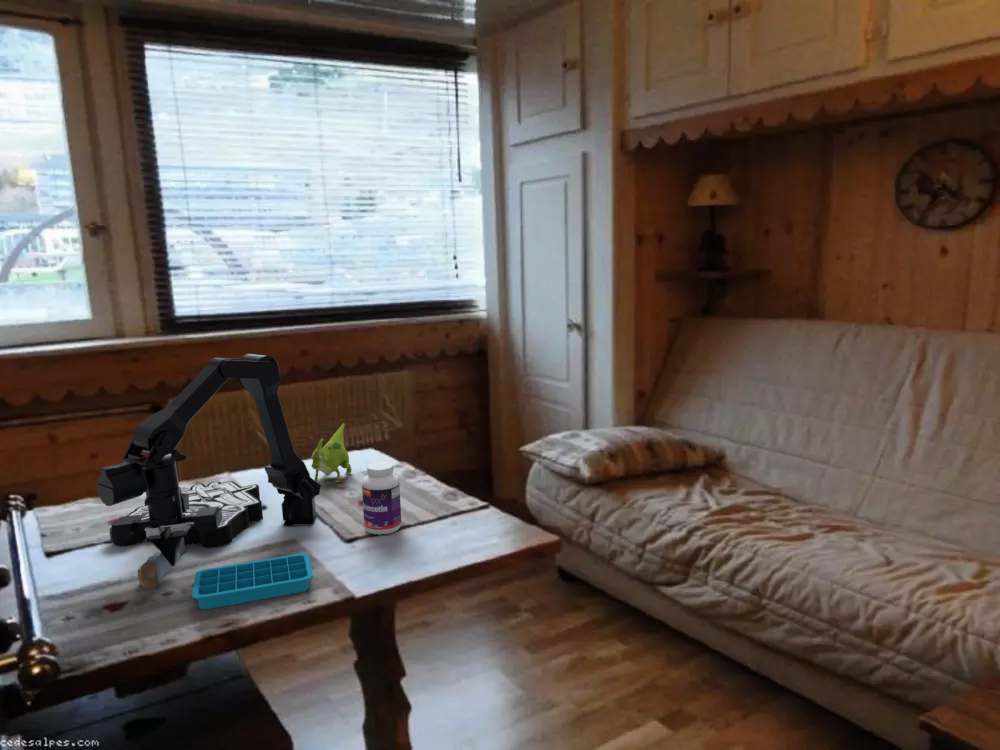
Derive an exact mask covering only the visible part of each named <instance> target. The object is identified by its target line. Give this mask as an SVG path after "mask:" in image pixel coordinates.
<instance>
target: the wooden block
mask: <svg viewBox="0 0 1000 750" xmlns="http://www.w3.org/2000/svg"><path fill="white" fill-rule="evenodd" d="M137 576H138V577H137V578H138V585H139V586H142V589H143V591H145V590H146V591H148V590H155V589H157V587H158V586H159V582H158V576H157V568H156V562H147V561H146V562H143V564H141V566H140V567H138V569H137Z"/></svg>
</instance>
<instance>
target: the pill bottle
mask: <svg viewBox="0 0 1000 750" xmlns="http://www.w3.org/2000/svg"><path fill="white" fill-rule="evenodd" d="M366 472H367V474H366V475H365V477H363V479H362V481H361V488H362V490H361V491H362V492H361V493H362V507H363V508H362V511H363V527H364V529H365V531H366V532H367V533H369V534H371V533H372V534H371V535H376V534H377V536H378V535H379V536H381V535H382V534H384V535H389V534H392V533H395V532H397V531H398V530H399V529H401V526H402V507H401V505H402V504H401V485H400V484H401V483H400V478H399V476H398V475H397V474H396V473H393V472H394V464H393V463H392V462H385V461H381V462H373V463H370V464H368V465H367V467H366ZM382 536H383V535H382Z"/></svg>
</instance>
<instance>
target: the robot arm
mask: <svg viewBox="0 0 1000 750" xmlns="http://www.w3.org/2000/svg"><path fill="white" fill-rule="evenodd" d="M229 379H239V380H240V382H241V384H242V385H243V387H244V388H245V389H246V391H247V392H248V393H249V394H250V395H251V396H252V398H253V400H254V402H255V406H256V410H257V412H258V416H259V420H260V423H261V426H262V429H263V431H264V432H263V433H264V436H265V438H266V442H267V446H268V449H269V453H270V455H271V459H270V462H269V465H267V466H265V467H264V471H265V473H266V475H267V482H268V483H269V484H271V485H272V487H273V488H275V489H276V491H277V494H279V495H283V501H282V503H281V512H282V521H284V522H283V526H284V527H289V526H290V527H292V526H305V525H306V526H307V525H314V523H315V521H316V520H317V519H316V518H317V517H318V511H316V510H317V509H316V499H315V498H316V496H318V495H320V493H321V488H322V485H321V484H320V483H319V482H316V481H315V479H313V478H312V477H311V475H310V471H309V470H308V468H307V465H306V464H305V462H304V461H303V459H302V458H301V457H300V456H299V455H298V454H297V453H296V451H295V449H294V446H293V442H292V439H291V438H292V437H291V435H290V432H289V427H288V424H287V421H286V418H285V414H284V410H283V407H282V405H281V401H280V397H279V388H280V384H281V373H280V366H279V363H278V361H277V360H276V358H273V356H271V355H262V354H252V353H247V354H244V355H243V356H241V357H240V358H234V357H233V358H231V357H230V358H224V357H223V358H222V357H214V358H211V359H210V360H209V361H208V362H207V364H206V366H205V367H204V368H203V369H202V370H201V371H200V372H199V373H198V374H197V375H196V376H195V377H194V378H193V379H192V381H190V382H189V383H188V384H187V386H185V388H183V390H182V391H181V392H180V393H179V394H178V395H177V396H176V397H175V398H174V399H173V400H172V401H171V402H170V403H169V404H168V405H167V406H166V407H164V408H163V409H161V410H159V411H157V412H155V413H153V414H151V415H150V416H148V417H146V418H145V419H144V420H142V421H141V422H140V423H139V424H137V425H136V426H135V428H134V429H133V430H132V433H131V435H132V439H131V441H130V443H129V445H128V446H127V449H126V451H125V453H124V454H123V456H122V459H121V461H122V463H117V464H115V465H107V466H104V467H101V468H100V469H99V470H100V475H99V476H98V478H97V484H96V490H97V494H98V496H99V499H100V500H101V502H102V503H103V504H104V505H105V506H107V507H110V506H114V505H118V504H120V503H123V502H124V503H125V502H127V501H129V500H133V499H136V498H138V497H141V496H142V495H144V493H145V497H146V498H145V499H144V502H145V503H144V506H145V505H148V512H149V518H150V519H149V520H141V517H140V515H133V516H127V515H125V516H119V518H118V519H117V520H116V522H115V521H114V522H115V523H114V524H113V526H111V527H110V528H109V538H110V541H111V542H113V543H114V541H123V540H128V539H129V538H130V537H131V536H132V535H133V533H132V532H136V531H146V534H147V537H146V540H145V542H146V543H147V542H149V543H152V545H153V546H155V547H156V548H157V550H158V549H159V550H160V551H161V553H162V554H163V555H164V557H165V558H166V559H167V561H168V562H169V563H170V565H171V567H175V565H176V562H177V560H178V559H177V555H178V550H179V545H180V542H181V539H182V538H183V537H185V536H186V534H187V533H188V531H189V529H190V528H191V525H194V529H196V530H197V531H199V532H203V531H212V530H216V529H217V528H218V527H219V525H220V523H221V521H222V519H223V518H222V511H221V509H220V508H219V507H218V506H216V507H207V508H199V510H198V511H197V513H196V515H187V516H183V513H186V511H187V509H189V493H182V492H183V491H182V488H181V486H180V484H179V477H178V470H177V464H176V463H177V462H181V461H184V460H186V459H187V455H186V454H184V453H181V452H180V451H179V450H178V448H177V446H178V445H179V443H180V442H181V441H182V439H183V438H184V436H185V433H186V429H187V427H188V424H189V423H190V421H191V420H192V419H193V418H194V417H195V416H196V415H197V414H198V413H199V411H200V410H201V409H203V407H204V406H205V405H206V404H207V403H208V402H209V401H210V400H211V398H212V397H213V396H214V395H215V394H217V392H218V391H219V390H220V389H221V387H223V385H225V383H226V382H227V381H228V380H229ZM142 453H147V455H144V454H142ZM170 528H171V530H172V532H171V533H170ZM176 559H177V560H176Z"/></svg>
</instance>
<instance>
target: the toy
mask: <svg viewBox="0 0 1000 750" xmlns="http://www.w3.org/2000/svg"><path fill="white" fill-rule="evenodd" d="M345 425H346V424H345V423H342V424H341V426H340V427H339V428H338V429H337V430H336V431H335V433H333V435H332V437H330V439H329V440H328V441H327V442H326V443H325V444H324V445H323V441H324V438H323V437H321V439H320V440H319V442H318V444H317V446H316V448H315V450H313V452H312V455H311V457H310V458H311V460H312V463H311V468H312V469H313V470H315V475H314V480H315V481H316V482H317V483H319V480H318V478H319V472H321V473H323V474H326V475H330V474H332V473H334V472H335V473H336V474H337V475H336V476H337V477H336V481H335V483H336V482H340V477H341V472H340V470H339V467H341V468H342V469H346V471H345V475H347V474H348V475H351V473H352V470H353V469H352V467H351V464H350V457H349V453H348V452H347V450H346V448H345V440H344V432H345V431H344V430H345ZM340 483H341V482H340Z"/></svg>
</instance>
